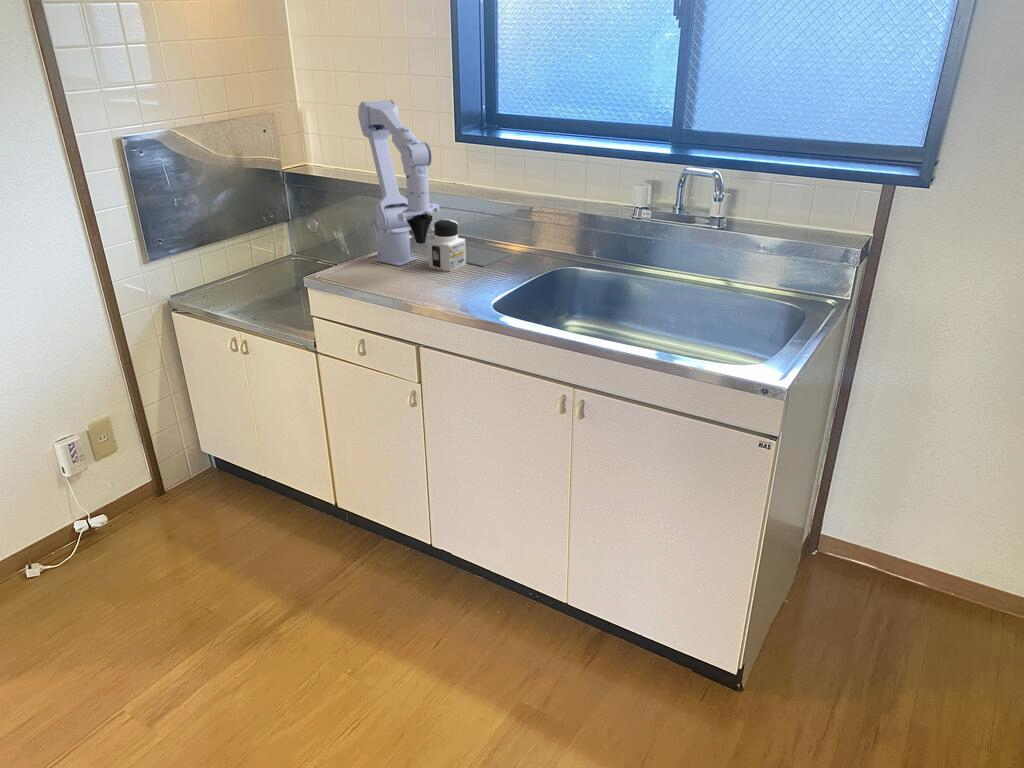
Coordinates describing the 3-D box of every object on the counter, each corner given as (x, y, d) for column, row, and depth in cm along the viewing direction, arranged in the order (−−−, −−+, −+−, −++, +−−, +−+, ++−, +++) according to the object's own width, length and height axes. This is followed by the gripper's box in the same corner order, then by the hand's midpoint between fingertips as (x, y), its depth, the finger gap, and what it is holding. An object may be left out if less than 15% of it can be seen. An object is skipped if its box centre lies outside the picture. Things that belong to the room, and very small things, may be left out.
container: (450, 272, 215) (448, 226, 210) (428, 267, 219) (426, 222, 213) (466, 265, 221) (465, 220, 215) (445, 260, 225) (443, 216, 219)
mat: (434, 256, 229) (434, 255, 228) (461, 246, 238) (461, 245, 238) (484, 267, 219) (483, 265, 219) (509, 256, 229) (509, 254, 229)
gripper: (411, 198, 194) (414, 251, 200) (447, 188, 205) (449, 239, 211) (390, 195, 198) (393, 247, 204) (426, 185, 209) (429, 235, 215)
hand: (420, 242), depth 208 cm, fingers closed
